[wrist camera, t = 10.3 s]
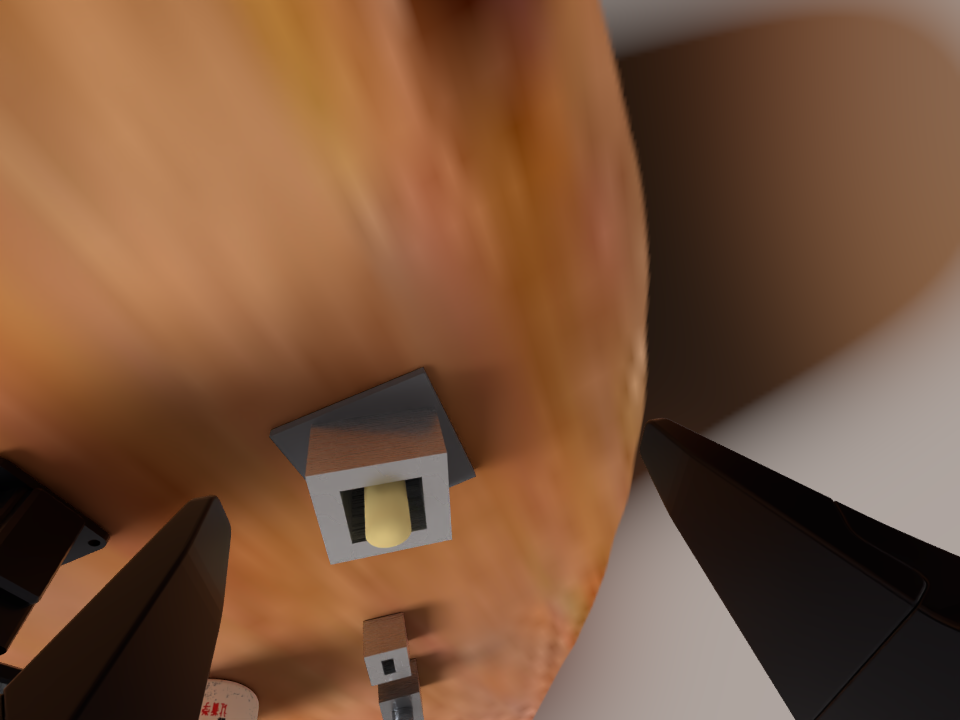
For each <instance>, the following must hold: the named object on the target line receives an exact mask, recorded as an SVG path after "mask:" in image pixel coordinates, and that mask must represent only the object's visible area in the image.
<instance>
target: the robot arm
mask: <svg viewBox="0 0 960 720" xmlns="http://www.w3.org/2000/svg"><path fill="white" fill-rule="evenodd" d="M640 454H641V458H642V460H643V462H644V464H645V466H646V468H647V470H648V472H649V474H650V476H651V479H652V481H653V483H654V485H655V487H656V489H657V491H658V493H659V495H660V497H661V499H662V501H663V503H664V505H665V507H666V509H667V511H668V513H669V515H670V517H671V518H672V520H673V522H674V524H675V525H676V527H677V529H678V530H679V532H680V533H681V535H682V537H683V538H684V540H685V542H686V543H687V545H688V546H689V548H690V550H691V551H692V553H693V555H694V556H695V558H696V559H697V561H698V563H699V564H700V566H701V567H702V569H703V571H704V572H705V574H706V576H707V577H708V579H709V581H710V582H711V583H712V585H713V587H714V589H715V590H716V592H717V593H718V595H719V597H720V598H721V600H722V601H723V603H724V605H725V606H726V608H727V610H728V611H729V613H730V615H731V616H732V618H733V619H734V621H735V623H736V624H737V626H738V627H739V629H740V631H741V632H742V634H743V636H744V637H745V639H746V641H747V642H748V644H749V645H750V647H751V649H752V650H753V652H754V653H755V655H756V657H757V658H758V660H759V661H760V663H761V665H762V666H763V668H764V670H765V671H766V673H767V675H768V676H769V678H770V679H771V681H772V683H773V684H774V686H775V688H776V689H777V691H778V692H779V694H780V696H781V697H782V699H783V701H784V702H785V704H786V705H787V707H788V708H789V710H790V712H791V713H792V715H793V717H794V718H795V720H960V557H959V556H957V555H954V554H952V553H950V552H947V551H945V550H943V549H940V548H938V547H936V546H933V545H931V544H929V543H926V542H924V541H922V540H919V539H917V538H915V537H913V536H910V535H908V534H906V533H903V532H901V531H899V530H897V529H894V528H892V527H890V526H888V525H885V524H883V523H881V522H879V521H877V520H875V519H873V518H870V517H868V516H866V515H864V514H862V513H860V512H858V511H856V510H854V509H852V508H849V507H847V506H846V505H843V504H841V503H839V502H837V501H834V502H833V500H832V499H831V498H829V497H827V496H825V495H823V494H821V493H819V492H816V491H814V490H812V489H810V488H808V487H806V486H804V485H802V484H800V483H798V482H796V481H794V480H792V479H790V478H788V477H786V476H784V475H781V474H780V473H777V472H776V471H773V470H771V469H769V468H767V467H765V466H763V465H761V464H759V463H757V462H755V461H753V460H751V459H749V458H747V457H745V456H743V455H740V454H738V453H736V452H734V451H732V450H730V449H728V448H726V447H724V446H722V445H720V444H717V443H716V442H714V441H712V440H709V439H708V438H706V437H704V436H702V435H699V434H697V433H695V432H693V431H691V430H689V429H687V428H685V427H683V426H681V425H679V424H677V423H675V422H673V421H671V420H669V419H666V418H659V419H653V420H649V421H648V422H647V423H646V424H645V427H644V432H643V436H642V440H641V444H640ZM109 538H110V535H109V533H108V532H106V531H105V530H104V529H102V528H101V527H99V526H98V525H97V524H95V523H94V522H92V521H91V520H90V519H88V518H87V517H86V516H84V515H83V514H81V513H80V512H79V511H77V510H76V509H75V508H73V507H72V506H70V505H69V504H68V503H66V502H65V501H63V500H62V499H61V498H59V497H58V496H57V495H55V494H54V493H52V492H51V491H50V490H48V489H47V488H45V487H44V486H43V485H41V484H40V483H39V482H37V481H36V480H34V479H33V478H32V477H30V476H29V475H27V474H26V473H25V472H23V471H22V470H21V469H19V468H18V467H16V466H15V465H14V464H12V463H11V462H9V461H8V460H6V459H3V458H0V655H2V654H4V653H6V652H7V650H8V648H9V647H10V645H11V644H12V642H13V640H14V639H15V637H16V635H17V634H18V632H19V630H20V629H21V627H22V625H23V624H24V622H25V620H26V619H27V617H28V615H29V614H30V612H31V610H32V609H33V607H34V605H35V604H36V603H37V602H38V601H39V600H40V599H41V598H42V596H43V594H44V593H45V591H46V589H47V588H48V586H49V584H50V583H51V581H52V579H53V578H54V576H55V574H56V573H57V571H58V569H59V568H60V566H61V565H64V564H66V563H68V562H71V561H73V560H76V559H78V558H80V557H83V556H85V555H88V554H90V553H92V552H95V551H97V550H100V549H102V548H104V547H105V546H106V544H107V542H108V540H109ZM230 540H231V527H230V523H229V520H228V518H227V516H226V514H225V511H224V509H223V507H222V505H221V502H220V500H219V499H218V497H217V496H215V495H209V496H203V497H198V498H193V499H191V500H190V501H188V502H187V503H186V504H185V505H184V506H183V507H182V508H181V509H180V510H179V511H178V512H177V513H176V514H175V515H174V516H173V517H172V518H171V519H170V520H169V521H168V523H167V524H166V525H165V526H164V527H163V528H162V529H161V530H160V531H159V532H158V533H157V534H156V535H155V536H154V537H153V538H152V539H151V540H150V541H149V542H148V543H147V544H146V545H145V546H144V547H143V548H142V549H141V550H140V551H139V552H138V553H137V554H136V555H135V556H134V557H133V558H132V559H131V560H130V561H129V562H128V563H127V564H126V565H125V566H124V567H123V568H122V569H121V570H120V571H119V572H118V573H117V574H116V575H115V576H114V577H113V578H112V579H111V580H110V581H109V582H108V583H107V584H106V586H105V587H104V588H103V589H102V590H101V591H100V592H99V593H98V594H97V595H96V596H95V597H94V598H93V599H92V600H91V601H90V602H89V603H88V604H87V605H86V606H85V607H84V608H83V609H82V610H81V611H80V612H79V613H78V614H77V615H76V616H75V617H74V618H73V619H72V620H71V621H70V622H69V623H68V624H67V625H66V626H65V627H64V628H63V629H62V630H61V631H60V632H59V633H58V634H57V635H56V636H55V637H54V638H53V639H52V640H51V641H50V642H49V643H48V644H47V645H46V646H45V647H44V649H43V650H42V651H41V652H40V653H39V654H38V655H37V656H36V657H35V658H34V659H33V660H32V661H31V662H30V663H29V664H28V665H27V666H26V667H25V668H24V669H22V668H18V667H15V666H12V665H8V664H5V663H2V662H0V720H199V716H200V712H201V707H202V703H203V698H204V694H205V690H206V685H207V681H208V676H209V672H210V667H211V663H212V659H213V654H214V650H215V645H216V641H217V637H218V632H219V628H220V623H221V617H222V611H223V604H224V595H225V586H226V577H227V567H228V558H229V549H230Z"/></svg>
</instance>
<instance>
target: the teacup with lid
mask: <svg viewBox="0 0 960 720" xmlns="http://www.w3.org/2000/svg"><path fill="white" fill-rule="evenodd" d="M258 710H259V702H258V699H257V697H256V695H255V694H254V692H253V691H252V690H250V689H249V688H247V687H246V686H244V685H241V684H239V683H236V682H232V681H227V680H220V679H208V681H207V685H206V690H205V694H204V698H203V703H202V707H201V712H200V716H199V720H257V717H258Z"/></svg>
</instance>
